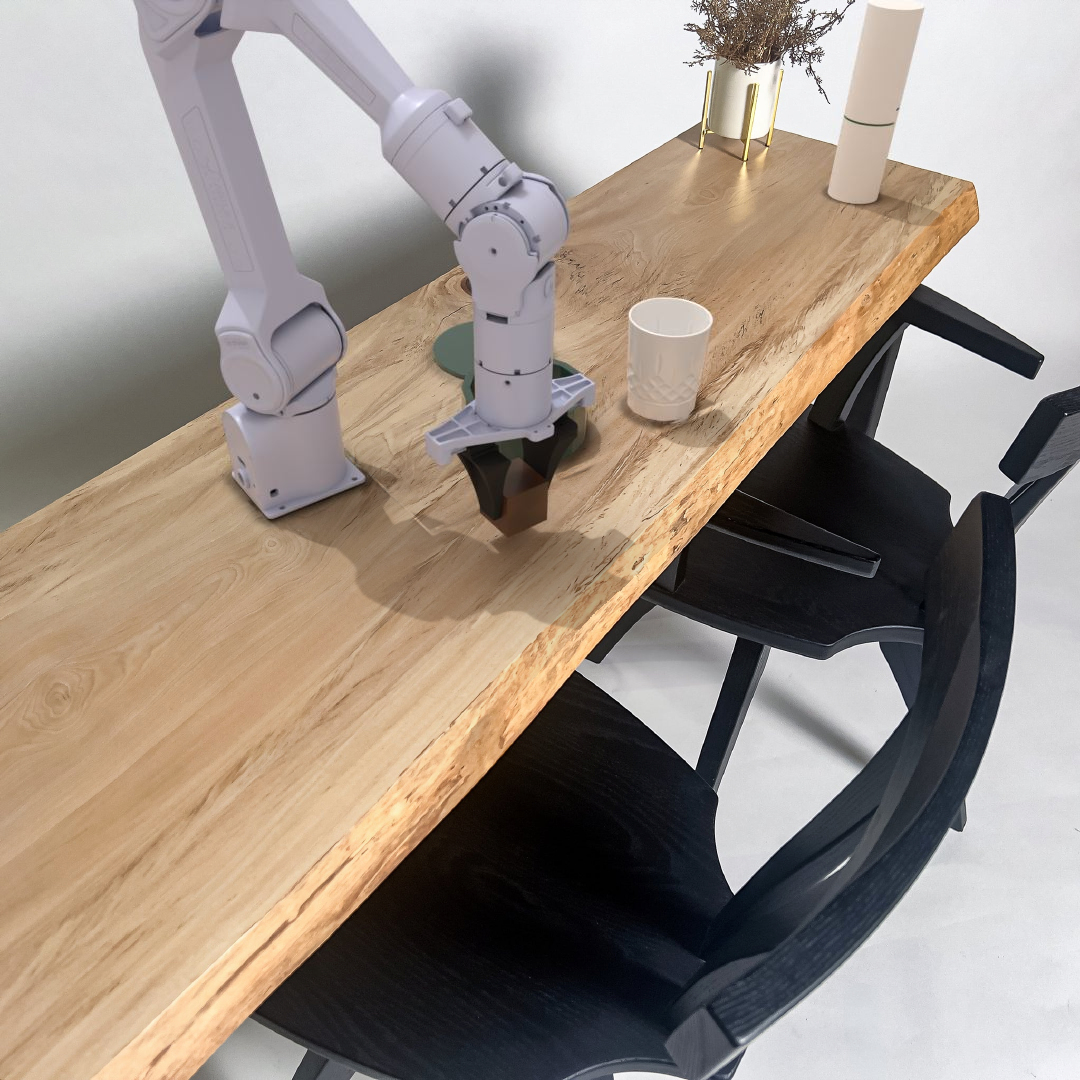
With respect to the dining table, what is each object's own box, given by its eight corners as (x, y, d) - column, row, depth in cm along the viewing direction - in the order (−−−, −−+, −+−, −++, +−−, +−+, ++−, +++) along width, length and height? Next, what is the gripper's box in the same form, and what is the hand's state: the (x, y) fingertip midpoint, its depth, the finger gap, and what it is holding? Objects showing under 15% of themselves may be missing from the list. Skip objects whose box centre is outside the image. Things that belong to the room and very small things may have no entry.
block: (507, 538, 78) (507, 499, 75) (479, 512, 80) (478, 473, 77) (547, 520, 79) (548, 481, 77) (518, 495, 82) (518, 457, 79)
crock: (510, 485, 87) (510, 435, 83) (441, 426, 94) (438, 378, 90) (609, 442, 92) (613, 393, 89) (536, 389, 99) (537, 342, 96)
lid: (476, 400, 98) (475, 356, 94) (410, 349, 105) (407, 306, 102) (575, 363, 103) (577, 320, 100) (505, 317, 111) (505, 275, 108)
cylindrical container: (883, 192, 143) (931, 2, 127) (868, 207, 138) (916, 12, 122) (836, 182, 146) (877, -5, 129) (820, 196, 141) (860, 4, 125)
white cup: (642, 378, 101) (651, 289, 95) (712, 400, 98) (726, 310, 92) (607, 413, 96) (614, 322, 90) (679, 437, 93) (692, 344, 87)
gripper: (460, 412, 64) (466, 564, 73) (625, 349, 71) (612, 495, 80) (405, 367, 68) (416, 516, 77) (566, 311, 75) (560, 454, 84)
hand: (513, 503), depth 79 cm, fingers closed on block, 4 cm apart
